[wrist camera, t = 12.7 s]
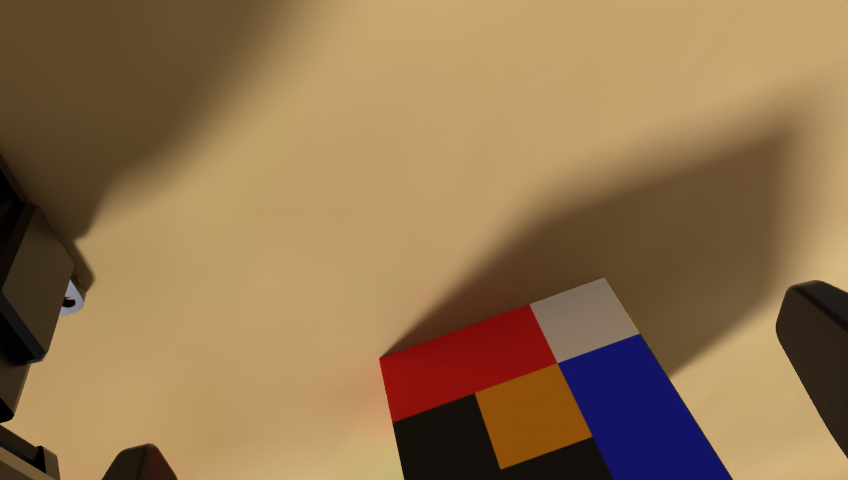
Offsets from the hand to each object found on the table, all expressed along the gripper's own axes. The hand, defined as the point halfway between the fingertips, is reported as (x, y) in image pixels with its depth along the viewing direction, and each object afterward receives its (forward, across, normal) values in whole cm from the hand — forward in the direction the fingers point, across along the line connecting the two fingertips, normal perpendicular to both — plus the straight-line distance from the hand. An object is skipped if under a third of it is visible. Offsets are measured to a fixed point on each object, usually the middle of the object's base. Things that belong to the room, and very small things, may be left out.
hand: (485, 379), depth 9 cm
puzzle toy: (+13, -4, +18) cm, 23 cm away
